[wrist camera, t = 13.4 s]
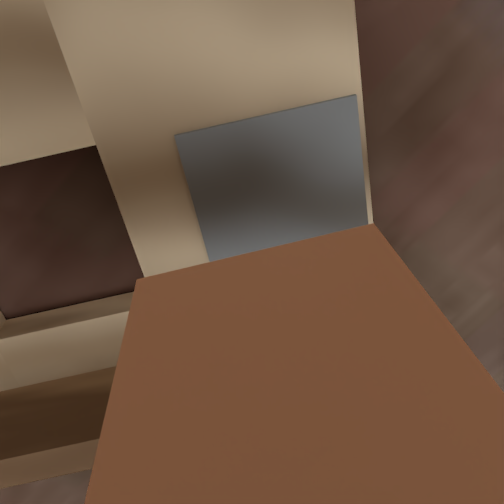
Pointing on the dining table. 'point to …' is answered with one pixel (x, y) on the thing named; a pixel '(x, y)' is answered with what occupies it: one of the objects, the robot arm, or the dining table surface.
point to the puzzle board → (169, 167)
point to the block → (297, 386)
